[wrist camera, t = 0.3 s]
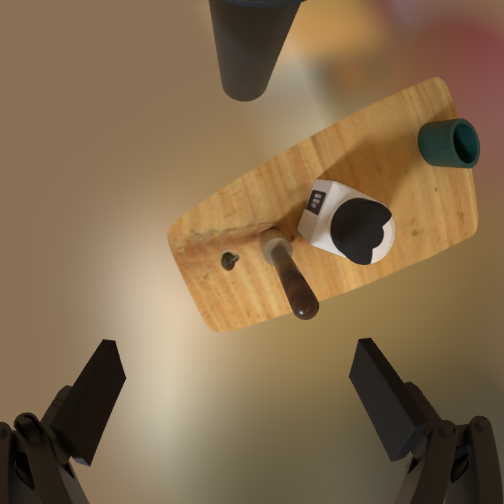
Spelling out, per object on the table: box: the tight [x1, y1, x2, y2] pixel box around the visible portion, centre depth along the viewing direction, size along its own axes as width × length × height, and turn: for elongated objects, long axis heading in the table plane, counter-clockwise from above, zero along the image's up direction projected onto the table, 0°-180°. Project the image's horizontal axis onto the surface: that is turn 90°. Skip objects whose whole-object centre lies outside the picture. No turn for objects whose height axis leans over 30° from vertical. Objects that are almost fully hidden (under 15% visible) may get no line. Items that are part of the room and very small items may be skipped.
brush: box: [260, 229, 319, 320], centre depth 28 cm, size 4×4×20 cm
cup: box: [418, 119, 480, 169], centre depth 31 cm, size 7×7×8 cm
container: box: [297, 179, 396, 265], centre depth 31 cm, size 8×8×13 cm
